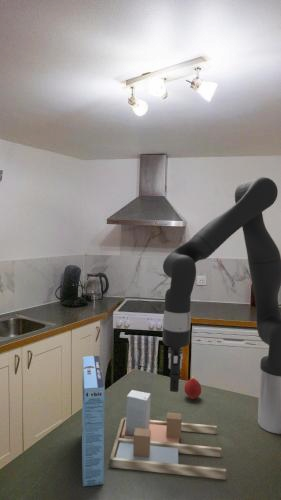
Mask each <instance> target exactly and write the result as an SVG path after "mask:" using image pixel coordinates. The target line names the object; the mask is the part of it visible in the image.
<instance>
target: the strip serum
mask: <svg viewBox="0 0 281 500" xmlns="http://www.w3.org/2000/svg"><path fill="white" fill-rule="evenodd" d="M166 421H167V425H156V424H150V425H149V429H151V434H150V441H157V442H167V443H178V444H180V439H182V431H181V423H182V413H181V412H180V413H178V412H166ZM121 438H126V439H134V437H129V436H126V421H125V424H124V428H123V431H122V435H121Z"/></svg>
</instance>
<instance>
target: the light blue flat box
mask: <svg viewBox="0 0 281 500" xmlns="http://www.w3.org/2000/svg"><path fill="white" fill-rule="evenodd" d="M105 390H106V388H105V383H104V377H103V371H102V365H101V358H100V355H89V356H88V355H87V356H83V357H82V393H81V394H82V395H81V398H82V399H81V402H82V404H81V405H82V406H81V407H82V408H81V411H82V412H81V413H82V414H81V417H82V418H81V421H82V422H81V429H82V430H81V433H82V434H81V447H82V448H81V450H82V451H81V457H82V460H81V461H82V467H81V468H82V487H90V486H98V485H100V486H101V485H103V484H104V475H105V474H104V472H105V471H104V469H105V468H104V467H105V465H104V464H105V459H104V458H105V456H104V455H105V393H106V392H105Z"/></svg>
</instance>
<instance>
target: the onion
mask: <svg viewBox="0 0 281 500" xmlns="http://www.w3.org/2000/svg"><path fill="white" fill-rule="evenodd" d="M183 387H184V388H183V389H184V393H185V394H186V395H187V396H188V397H189V399H190V400H195V399H197V398H199V396H200V395H201V393H202V386H201V384H200V382H199V381H198V380H197V379H196V378H195V377H194V376H190V379H188V380H187V381H186V382H185V384H184V386H183Z"/></svg>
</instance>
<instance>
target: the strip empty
mask: <svg viewBox="0 0 281 500" xmlns="http://www.w3.org/2000/svg"><path fill="white" fill-rule="evenodd" d="M150 434H151V429H140V428H135V432H134V444H131V443H119V447H118V450H117V453H116V457H115V458H124V459H134V460H144V461H153V462H163V463H173V464H179V453H178V448H171V447H161V446H151V445H150Z"/></svg>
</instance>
